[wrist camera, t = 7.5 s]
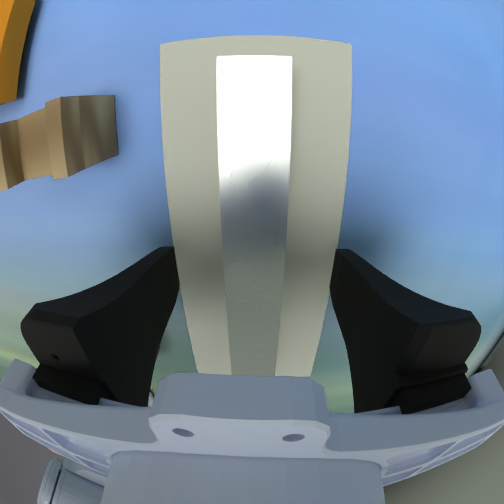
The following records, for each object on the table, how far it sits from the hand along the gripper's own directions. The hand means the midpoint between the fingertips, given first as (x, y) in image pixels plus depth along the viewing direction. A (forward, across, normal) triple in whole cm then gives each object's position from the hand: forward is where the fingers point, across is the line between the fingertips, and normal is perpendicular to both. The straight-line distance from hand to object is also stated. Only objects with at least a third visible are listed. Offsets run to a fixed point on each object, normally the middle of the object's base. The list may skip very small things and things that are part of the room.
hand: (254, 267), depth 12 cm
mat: (+2, 0, 0) cm, 2 cm away
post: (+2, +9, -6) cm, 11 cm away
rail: (+1, 0, 0) cm, 1 cm away
